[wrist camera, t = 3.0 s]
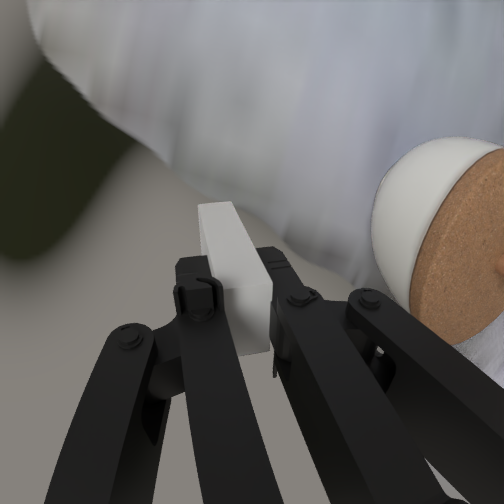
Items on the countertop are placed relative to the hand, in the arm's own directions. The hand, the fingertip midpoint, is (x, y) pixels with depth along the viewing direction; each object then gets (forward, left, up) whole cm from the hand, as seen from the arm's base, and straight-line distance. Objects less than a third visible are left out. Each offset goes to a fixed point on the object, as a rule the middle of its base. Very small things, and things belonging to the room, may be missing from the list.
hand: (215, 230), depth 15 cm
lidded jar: (0, +13, -2) cm, 13 cm away
